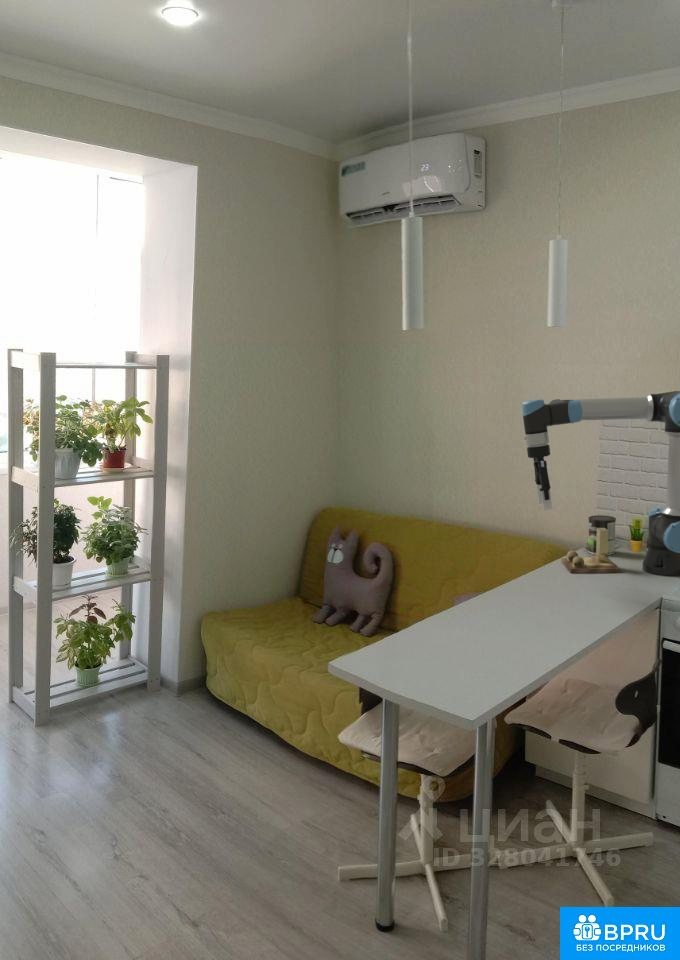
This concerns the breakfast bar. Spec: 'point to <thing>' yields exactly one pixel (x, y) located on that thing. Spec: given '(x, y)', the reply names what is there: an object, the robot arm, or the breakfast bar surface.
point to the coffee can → (601, 522)
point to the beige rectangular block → (602, 546)
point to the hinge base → (587, 564)
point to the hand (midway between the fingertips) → (545, 506)
